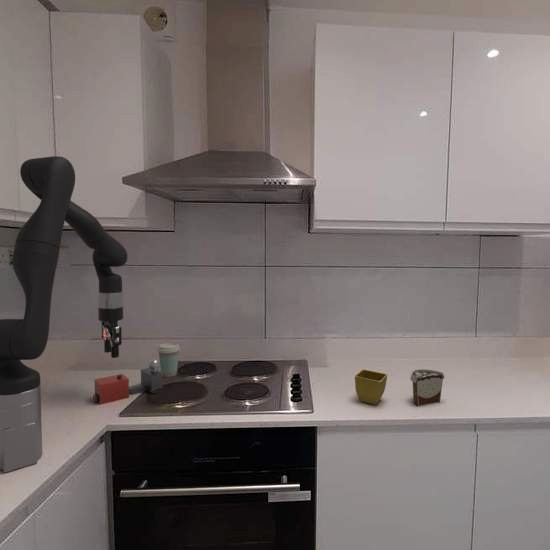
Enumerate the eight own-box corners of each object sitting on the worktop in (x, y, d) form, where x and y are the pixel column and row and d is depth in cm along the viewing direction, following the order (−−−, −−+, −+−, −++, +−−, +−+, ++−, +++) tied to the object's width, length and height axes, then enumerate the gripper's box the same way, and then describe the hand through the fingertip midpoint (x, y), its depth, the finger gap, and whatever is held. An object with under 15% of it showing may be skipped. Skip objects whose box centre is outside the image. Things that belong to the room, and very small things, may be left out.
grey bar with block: (165, 390, 127) (165, 361, 126) (98, 407, 113) (97, 374, 112) (154, 382, 135) (154, 354, 134) (90, 397, 120) (89, 366, 120)
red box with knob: (128, 397, 120) (128, 376, 120) (100, 404, 115) (99, 382, 114) (122, 392, 125) (122, 371, 125) (94, 398, 120) (94, 377, 119)
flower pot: (387, 399, 122) (387, 373, 121) (379, 408, 114) (380, 381, 114) (361, 393, 126) (362, 369, 126) (353, 402, 119) (354, 376, 119)
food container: (429, 395, 126) (430, 367, 126) (443, 402, 120) (444, 372, 120) (401, 399, 122) (402, 371, 121) (414, 407, 116) (415, 377, 115)
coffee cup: (184, 374, 144) (184, 345, 143) (165, 380, 138) (165, 349, 137) (172, 369, 150) (172, 341, 149) (153, 374, 143) (153, 345, 142)
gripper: (92, 304, 121) (93, 352, 122) (104, 309, 110) (105, 362, 111) (116, 302, 126) (116, 348, 127) (129, 307, 115) (130, 357, 116)
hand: (111, 354), depth 119 cm, fingers open, 7 cm apart
